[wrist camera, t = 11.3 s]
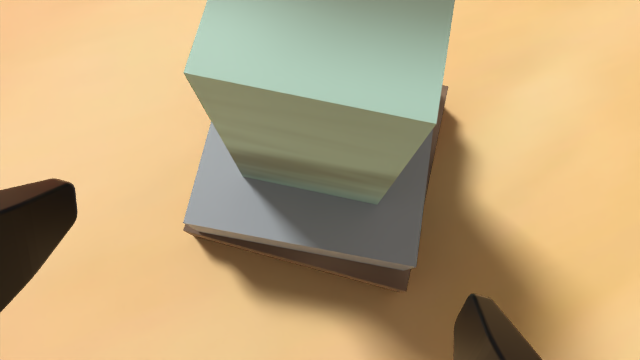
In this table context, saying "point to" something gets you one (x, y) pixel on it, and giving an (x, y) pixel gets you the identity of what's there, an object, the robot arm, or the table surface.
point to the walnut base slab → (341, 267)
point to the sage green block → (322, 87)
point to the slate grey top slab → (310, 212)
